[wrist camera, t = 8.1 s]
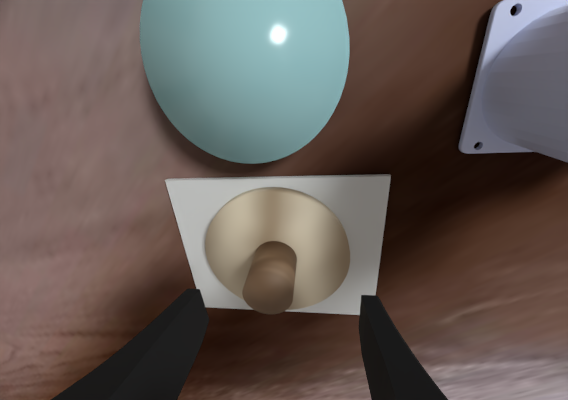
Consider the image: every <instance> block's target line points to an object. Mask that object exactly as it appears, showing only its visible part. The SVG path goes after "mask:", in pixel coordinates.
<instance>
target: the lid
mask: <svg viewBox="0 0 568 400" xmlns="http://www.w3.org/2000/svg"><path fill="white" fill-rule="evenodd" d="M205 250H206V256H207V260H208V263H209V265H210V267H211V269H212V271H213V273H214V274H215V276H216V277H217V279H218V280H219V281H220V282H221V283H222V284H223V285H224V286H225V287H226V288H227V289H228V290H229V291H231V292H232V293H233V294H235V295H236V296H238V297H239V298H241V299H243V300H245V302H246V303H247V305H248V306H250V307H251V308H252V309H254V310H256V311H258V312H260V313H264V314H279V313H282V312H284V311H286V310H293V309H300V308H305V307H309V306H312V305H315V304H317V303H319V302H321V301H323V300H325V299H327V298H328V297H329V296H331V295H332V294H333V293H334V292H335V291H336V290H337V289H338V288H339V287H340V286H341V284H342V283H343V281H344V279H345V278H346V276H347V273H348V270H349V266H350V249H349V243H348V238H347V235H346V232H345V229H344V227H343V226H342V224H341V222H340V220H339V219H338V218H337V216H336V215H335V214H334V213H333V212H332V211H331V210H330V209H329V208H328V207H327V206H326V205H324V204H323V203H322V202H321V201H319V200H317V199H316V198H314V197H312V196H310V195H308V194H305V193H303V192H300V191H297V190H293V189H288V188H283V187H263V188H257V189H252V190H249V191H246V192H243V193H241V194H239V195H237V196H235V197H234V198H232V199H231V200H229V201H228V202H227V203H226V204H225V205H224V206H223V207H222V208H221V209H220V210H219V212H218V213H217V214H216V216H215V217H214V219H213V220H212V222H211V224H210V226H209V228H208V231H207V234H206V240H205Z"/></svg>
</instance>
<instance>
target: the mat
mask: <svg viewBox="0 0 568 400" xmlns="http://www.w3.org/2000/svg"><path fill="white" fill-rule="evenodd" d="M390 180H391V176H390V174H375V175H326V176H277V177H228V178H179V179H167V180H165V182H166V186H167V189H168V192H169V196H170V199H171V203H172V206H173V210H174V213H175V217H176V220H177V223H178V227H179V230H180V234H181V237H182V241H183V244H184V247H185V251H186V254H187V258H188V261H189V265H190V268H191V271H192V275H193V278H194V282H195V285H196V289H200V291H201V295H202V298H203V301H204V304H205V307H211V308H231V309H251V310H254V309H252V308H251V307H250V306H248V305H247V303H246V302H245V300H243V299H241V298H239V297H238V296H236V295H235V294H233V293H232V292H231V291H229V290H228V289H227V288H226V287H225V286H224V285H223V284H222V283H221V282H220V281H219V280H218V279H217V277H216V276H215V274H214V273H213V271H212V269H211V267H210V265H209V263H208V260H207V256H206V250H205V240H206V234H207V231H208V228H209V226H210V224H211V222H212V220H213V219H214V217H215V216H216V214H217V213H218V212H219V210H220V209H221V208H222V207H223V206H224V205H225V204H226V203H227V202H228V201H229V200H231V199H232V198H234V197H235V196H237V195H239V194H241V193H243V192H246V191H249V190H252V189H257V188H263V187H283V188H288V189H293V190H297V191H300V192H303V193H305V194H308V195H310V196H312V197H314V198H316V199H317V200H319V201H321V202H322V203H323V204H324V205H326V206H327V207H328V208H329V209H330V210H331V211H332V212H333V213H334V214H335V215H336V216H337V218H338V219H339V220H340V222H341V224H342V226H343V227H344V229H345V232H346V235H347V238H348V243H349V249H350V266H349V270H348V273H347V276H346V278H345V279H344V281H343V283H342V284H341V286H340V287H339V288H338V289H337V290H336V291H335V292H334V293H333V294H332V295H331V296H329V297H328V298H327V299H325V300H323V301H321V302H319V303H317V304H315V305H312V306H309V307H305V308H300V309H293V310H286V311H291V312H311V313H331V314H351V315H360V305H361V295H376V287H377V280H378V272H379V264H380V257H381V249H382V241H383V233H384V226H385V218H386V210H387V203H388V195H389V187H390Z"/></svg>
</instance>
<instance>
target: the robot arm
mask: <svg viewBox="0 0 568 400" xmlns="http://www.w3.org/2000/svg"><path fill="white" fill-rule="evenodd" d="M513 6H516V8H517V10H516V13H515V15H513V16H512V15H511V14H510V10H511V8H512V7H513ZM477 142H479V146H478V147H477V148H474V145H475V144H476V143H477ZM459 150H460V151H461V152H463V153H466V154H476V153H510V152H538V153H541V154H544V155H547V156H550V157H553V158H556V159H559V160H561V161H564V162H567V163H568V0H503V1H500V2H499V3H497V4H496V5H495V6H494V7H493V9H492V11H491V13H490V17H489V21H488V25H487V29H486V34H485V38H484V42H483V46H482V50H481V54H480V58H479V63H478V67H477V71H476V75H475V79H474V83H473V87H472V92H471V96H470V100H469V104H468V108H467V112H466V116H465V121H464V125H463V129H462V133H461V137H460V141H459ZM208 322H209V317H208V314H207V311H206V308H205V304H204V301H203V298H202V295H201V291H200V289H187V290H186V291H185V292H183V293H182V294H181V295H180V296H179V297H178V298H177V299H176V300H175V301H174V302H173V303H172V304H171V305H170V306H169V307H167V308H166V309H165V310H164V311H163V312H162V313H161V314H160V315H159V316H158V317H157V318H156V319H155V320H153V321H152V322H151V323H150V324H149V325H148V326H147V327H146V328H145V329H143V330H142V331H141V332H140V333H139V334H138V335H137V336H135V337H134V338H133V339H132V340H131V341H130V342H128V343H127V344H126V345H125V346H124V347H123V348H121V349H120V350H119V351H118V352H116V353H115V354H114V355H113V356H111V357H110V358H109V359H108V360H106V361H105V362H104V363H102V364H101V365H100V366H98V367H97V368H96V369H94V370H93V371H92V372H90V373H89V374H88V375H86V376H85V377H83V378H82V379H80V380H79V381H77V382H76V383H75V384H73V385H72V386H70V387H69V388H67V389H66V390H64V391H63V392H62V393H60V394H59V395H57V396H56V397H54V398H53V399H51V400H177V399H178V396H179V394H180V392H181V390H182V387H183V385H184V383H185V381H186V378H187V376H188V374H189V372H190V369H191V367H192V365H193V363H194V360H195V358H196V356H197V353H198V351H199V349H200V347H201V344H202V341H203V338H204V335H205V332H206V329H207V326H208ZM359 334H360V343H361V351H362V357H363V361H364V366H365V371H366V375H367V380H368V384H369V389H370V393H371V398H372V400H448V399H447V398H446V396H445V395H444V394H443V393H442V392H441V390H440V389H439V388H438V386H437V385H436V384H435V383H434V381H433V380H432V379H431V377H430V376H429V375H428V373H427V372H426V371H425V369H424V368H423V367H422V365H421V364H420V363H419V361H418V360H417V358H416V357H415V356H414V354H413V353H412V351H411V350H410V348H409V347H408V345H407V344H406V342H405V341H404V339H403V338H402V336H401V335H400V333H399V332H398V330H397V329H396V327H395V325H394V324H393V322H392V320H391V319H390V317H389V315H388V314H387V312H386V310H385V308H384V307H383V305H382V303H381V301H380V299H379V297H378V296H376V295H361V305H360V318H359Z"/></svg>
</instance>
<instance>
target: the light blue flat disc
mask: <svg viewBox="0 0 568 400" xmlns="http://www.w3.org/2000/svg"><path fill="white" fill-rule="evenodd" d="M140 45H141V54H142V59H143V64H144V68H145V72H146V75H147V78H148V81H149V84H150V87H151V89H152V91H153V94H154V96H155V98H156V100H157V102H158V103H159V105H160V107H161V109H162V110H163V112H164V113H165V115H166V116H167V117H168V119H169V120H170V122H171V123H172V124H173V125H174V126H175V127H176V128H177V129H178V131H179V132H180V133H182V134H183V135H184V136H185V137H186V138H187V139H188V140H189V141H191V142H192V143H193V144H195V145H196V146H197V147H199V148H201V149H202V150H204V151H206V152H208V153H209V154H212V155H214V156H216V157H219V158H221V159H225V160H228V161H232V162H238V163H248V164H256V163H266V162H270V161H275V160H278V159H281V158H283V157H286V156H288V155H290V154H292V153H294V152H296V151H298V150H299V149H301V148H302V147H303V146H305V145H306V144H308V143H309V142H310V141H311V140H312V139H313V138H314V137H315V136H316V135H317V134H318V133H319V132H320V131H321V129H322V128H323V127H324V126H325V125H326V123H327V122H328V120H329V119H330V117H331V115H332V114H333V112H334V110H335V108H336V106H337V104H338V102H339V100H340V97H341V94H342V91H343V88H344V85H345V81H346V76H347V72H348V63H349V32H348V24H347V18H346V14H345V10H344V6H343V2H342V0H143V4H142V9H141V18H140Z"/></svg>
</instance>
